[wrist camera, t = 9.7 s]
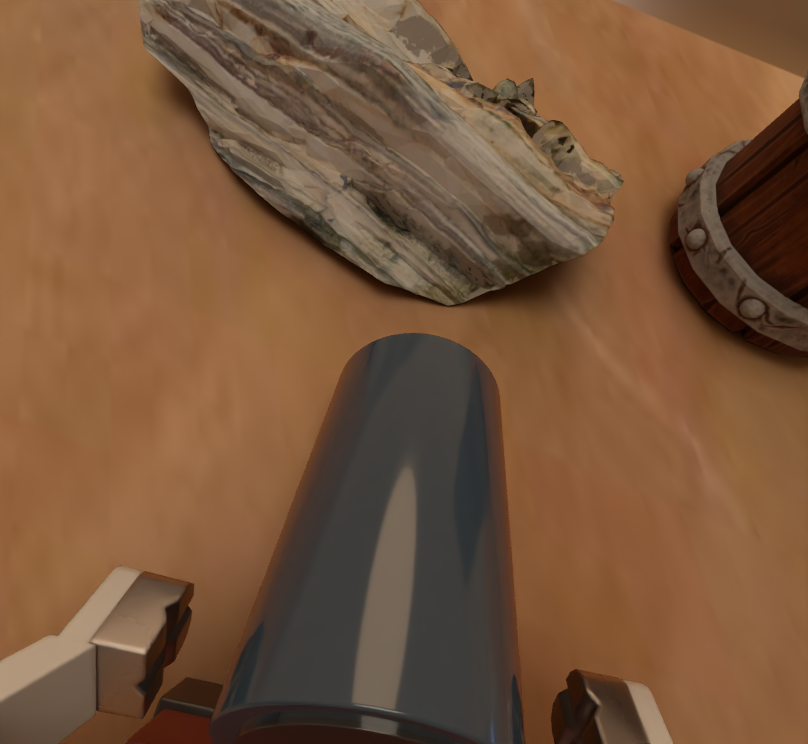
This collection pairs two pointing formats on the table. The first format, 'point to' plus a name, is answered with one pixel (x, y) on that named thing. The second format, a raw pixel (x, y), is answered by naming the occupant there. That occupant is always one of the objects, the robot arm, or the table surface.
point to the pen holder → (389, 569)
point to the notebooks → (181, 715)
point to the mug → (751, 234)
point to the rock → (385, 139)
